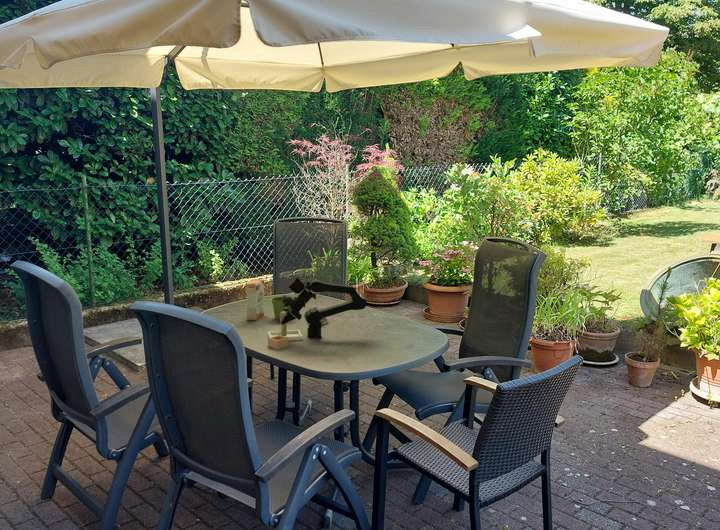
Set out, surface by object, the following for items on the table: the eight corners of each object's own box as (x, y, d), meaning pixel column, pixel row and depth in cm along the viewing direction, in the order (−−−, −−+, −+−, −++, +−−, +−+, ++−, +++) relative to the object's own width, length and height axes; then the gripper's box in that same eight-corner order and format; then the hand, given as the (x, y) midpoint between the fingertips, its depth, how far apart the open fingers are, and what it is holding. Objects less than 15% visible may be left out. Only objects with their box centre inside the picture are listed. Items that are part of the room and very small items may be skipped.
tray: (299, 334, 318) (299, 329, 318) (302, 340, 307) (302, 336, 306) (268, 336, 314) (268, 331, 314) (270, 343, 303) (270, 338, 303)
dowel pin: (287, 334, 309) (287, 311, 307) (285, 336, 306) (285, 313, 304) (281, 334, 310) (281, 311, 308) (279, 336, 307) (279, 312, 305)
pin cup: (279, 343, 302) (279, 335, 301) (288, 347, 297) (288, 338, 296) (268, 346, 297) (267, 337, 296) (276, 350, 292) (276, 341, 291)
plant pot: (290, 321, 343) (290, 301, 341) (269, 320, 343) (269, 301, 341) (293, 315, 354) (293, 296, 352) (273, 315, 354) (272, 296, 352)
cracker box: (257, 320, 343) (256, 284, 339) (246, 320, 344) (245, 283, 340) (265, 314, 356) (264, 279, 352) (255, 313, 357) (254, 278, 353)
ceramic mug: (310, 325, 334) (310, 311, 333) (308, 321, 342) (308, 307, 341) (329, 324, 336) (329, 311, 335) (327, 320, 344) (327, 307, 343)
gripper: (286, 285, 314) (265, 308, 312) (294, 293, 296) (272, 317, 295) (301, 299, 318) (281, 322, 316) (310, 308, 300) (289, 332, 299)
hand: (280, 323), depth 306 cm, fingers closed on dowel pin, 3 cm apart
